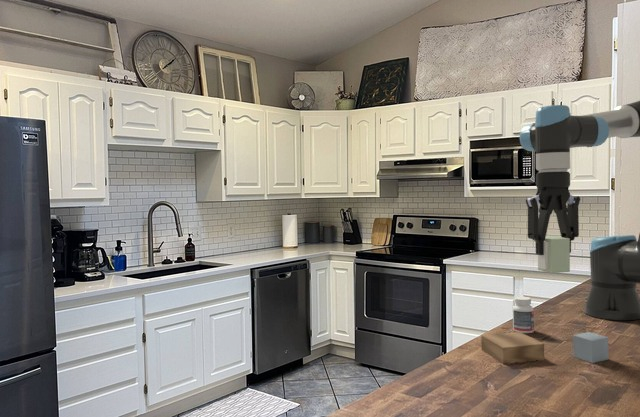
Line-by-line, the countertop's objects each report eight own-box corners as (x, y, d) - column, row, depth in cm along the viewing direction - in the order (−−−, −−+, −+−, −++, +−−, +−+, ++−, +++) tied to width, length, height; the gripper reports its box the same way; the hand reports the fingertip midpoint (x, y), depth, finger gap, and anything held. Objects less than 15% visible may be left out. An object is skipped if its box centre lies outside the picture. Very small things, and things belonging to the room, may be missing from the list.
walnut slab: (519, 348, 129) (519, 331, 128) (544, 361, 119) (544, 343, 118) (481, 351, 127) (481, 335, 127) (503, 365, 117) (502, 347, 117)
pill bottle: (535, 334, 138) (535, 300, 138) (514, 333, 139) (514, 300, 139) (531, 328, 144) (531, 296, 143) (511, 328, 145) (511, 295, 144)
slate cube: (588, 353, 122) (588, 332, 122) (608, 359, 118) (608, 337, 117) (573, 356, 120) (572, 335, 120) (592, 363, 116) (592, 340, 115)
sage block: (555, 268, 131) (555, 236, 130) (569, 271, 126) (569, 238, 125) (538, 270, 129) (537, 237, 129) (551, 273, 125) (551, 239, 124)
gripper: (574, 171, 132) (574, 263, 133) (510, 172, 128) (511, 267, 129) (596, 169, 125) (596, 267, 126) (529, 171, 121) (530, 272, 122)
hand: (553, 267), depth 128 cm, fingers closed on sage block, 5 cm apart
